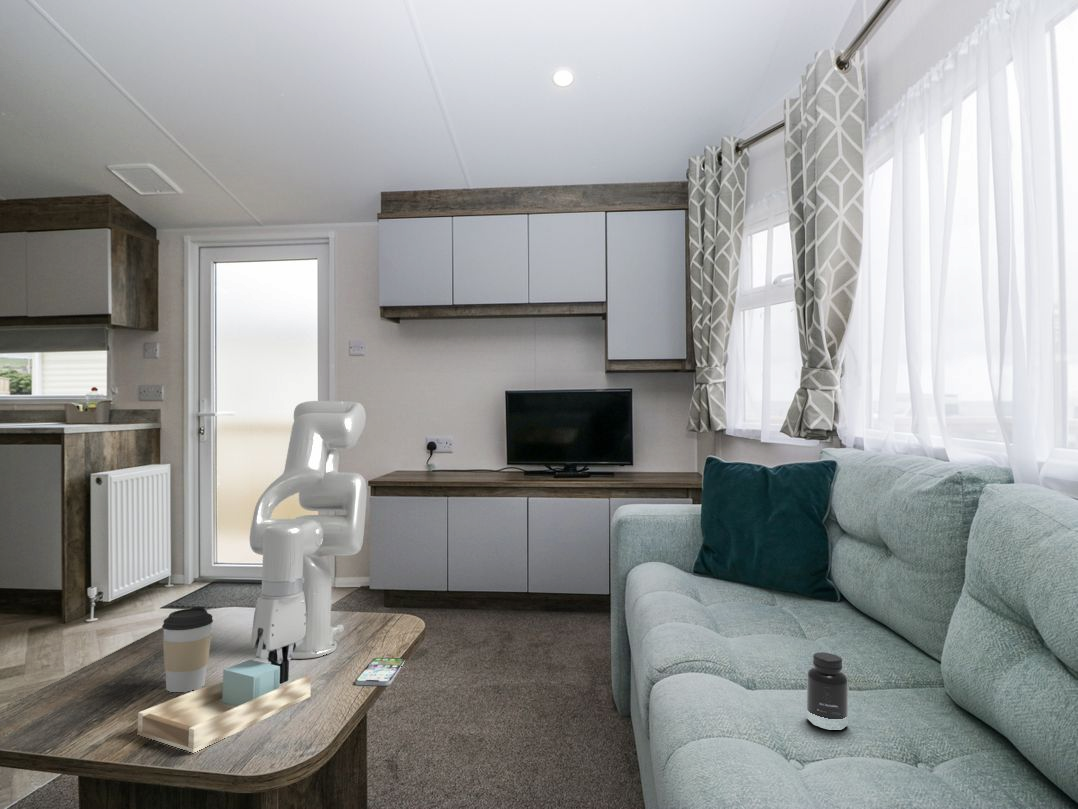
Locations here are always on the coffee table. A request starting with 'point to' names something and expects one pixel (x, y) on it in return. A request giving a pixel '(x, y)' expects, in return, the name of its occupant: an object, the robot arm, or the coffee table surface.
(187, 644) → the coffee cup
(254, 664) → the light blue block
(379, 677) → the smartphone
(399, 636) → the coffee table surface
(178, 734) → the bay
